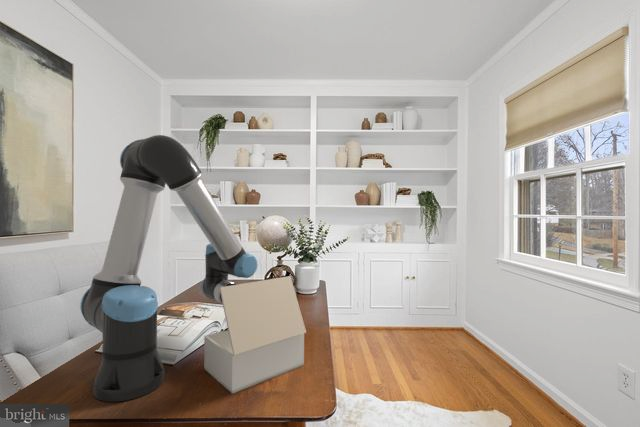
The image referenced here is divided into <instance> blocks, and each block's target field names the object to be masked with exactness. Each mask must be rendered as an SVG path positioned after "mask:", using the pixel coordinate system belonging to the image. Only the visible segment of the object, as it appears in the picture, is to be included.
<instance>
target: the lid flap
mask: <svg viewBox="0 0 640 427" xmlns="http://www.w3.org/2000/svg"><path fill="white" fill-rule="evenodd" d="M237 284H238V285H232V286H225V287H220V293H221V298H222V303H223V304H222V307H223V312H224V317H225V321H226V326H227V330H228V332H229V337H230V342H231V346H232V351H233V355H237V354H240V353H243V352H246V351H249V350H252V349H256V348H259V347H262V346H265V345H268V344H271V343H274V342H278V341H281V340H284V339H287V338H290V337H293V336H296V335H300V334H303V333H304V334H307V330H306V326H305V322H304V319H303V316H302V311H301V308H300V305H299V301H298V298H297V293H296V290H295V287H294V283H293V280H292V276H291V275H288V276H282V277H276V278H275V277H274V278H270V279H263V280H258V281H251V282H250V281H249V282H244V283H237Z"/></svg>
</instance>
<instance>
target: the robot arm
mask: <svg viewBox="0 0 640 427" xmlns="http://www.w3.org/2000/svg"><path fill="white" fill-rule="evenodd" d="M119 163H120V167H121V169H122V170H121V174H120V177H119V180H120V182H121V184H122V185H123V191H122V194H121V197H120V201H119V205H118V209H117V212H116V217H115V221H114V224H113V227H112V232H111V235H110V238H109V242H108V247H107V250H106V253H105V258H104V260H103V261H104V262H103V265H102V269H101V271H99V272H98V273H96V274H95V275H94V276H93V277H92V280H91V285H90V287H89V288H88V289H86V291H85V293H84V294H83V295H82V298H81V300H80V305H79V306H80V313H81V314H82V317H83V319H84V321H86V322H87V324H88V325H90V326H91V327H93V328H95V329H97V330H98V331H99V332H100V333H102V334H101V335H102V359H101V362H100V365H99V367H98V371H97V373H96V376H95V379H94V382H93V396H94V397H95V399H97V400H99V401H103V402H111V403H113V402H114V403H115V402H116V403H117V402H124V401H129V400H134V399H137V398H140V397H143V396H145V395H147V394H150V393H151V392H153V391H155V390H156V389H157V388H159V387H160V386H161V385H162V384H163V383H164V381H165V367H164V365H163V362H162V360H161V357H160V354H159V351H158V344H157V343H158V307H159V305H158V304H159V303H158V299H157V297H158V296H157V293H156V291H155V290H154V289H152V288H151V287H148V286H145V285H142V280H141V279H140V278H139V276H138V271H139V268H140V264H141V261H142V260H141V259H142V255H143V252H144V247H145V244H146V240H147V236H148V232H149V228H150V224H151V220H152V216H153V211H154V208H155V204H156V200H157V197H158V196H157V195H158V194H159V193H162V191H164V190H165V188H166V185H167V187H168V188H169V190H170V191H174V192H176V194H177V195H178V196H179V198H180V199H181V202H182V203H183V204H184V206H185V208H186V209H187V211H188V212H189V213H190V215H191V216H192V217H193V219H194V221H195V223H197V225H198V227H199V228H200V230H201V231H202V233H203V234H204V236H205V237H206V239H207V240H208V242H209V243H208V244H207V245H206V246H205V255H204V256H205V257H204V258H205V278H203V280H202V282H201V283H200V291H201V293H202V294H203V295H204V296H205V297H207V298H208V299H210V300H213V301H216V302H218V303H220V304H222V305H223V303H222V298H221V293H220V287H225V286H232V285H238V284H239V283H235V282H232V281H231V280H229V275H230V276H233V277H237V278H244V279H248V278H250V277H253V276H254V275H255V273H256V272H257V270H258V266H259V265H258V260H257V258H256V256H254V255H253V254H251V253H248V252H246V250H245V249H244V247H243V245H242V244H241V243H240V241H239V239H238V237H237V235H236V234H235V233H234V231H233V229H232V227H231V226H230V224H229V223H228V221H227V220H226V218H225V216H224V214H223V213H222V211H221V209H220V207H219V206H218V204H217V202H216V201H215V200H214V198H213V196H212V194H211V193H210V191H209V189H208V188H207V186H206V184H205V183H204V181H203V180H202V178H201V177H202V173H203V172H202V171H201V168H199V166H198V164H197V163H196V161H195V159H194V157H192V155H191V154H190V152H189V151H188V150H187V149H186V148H185V147H184V146H183V145H182V144H181V143H180V142H179V141H177V140H176V139H174V138H173V137H170V136H168V135H164V134H163V135H162V134H157V135H152V136H149V137H146V138H141V139H140V138H139V139H137V140H134V141H132V142H130V143H129V144H127V145H126V146H125V147H124V148H123V150H122V152H121V153H120V157H119Z"/></svg>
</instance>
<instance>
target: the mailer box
mask: <svg viewBox="0 0 640 427" xmlns="http://www.w3.org/2000/svg"><path fill="white" fill-rule="evenodd" d="M203 338H204V339H203V340H204V344H203V345H204V349H203V350H204V352H203V353H204V354H203V356H204V358H203V359H204V360H203V366H204V367H203V369H204V370H205V371H206V372H207V373H208V374H210V375H211V376H212V378H214V379H215V380H216V381H217V382H218V383H219V384H221V386H223V387H224V388H225V389H226V390H227V391H229V392H230V394H236V393H237V392H240V391H242V390H245V389H248V388H250V387H253V386H255V385H258V384H260V383H263V382H265V381H268V380H270V379H272V378H275V377H277V376H280V375H283V374H286V373H287V372H290V371H292V370H295V369H297V368H299V367H300V368H301V367H302V366H304V365H305V333H303V334H300V335H296V336H293V337H290V338H287V339H284V340H281V341H278V342H274V343H271V344H268V345H265V346H262V347H259V348H256V349H252V350H249V351H246V352H243V353H240V354H237V355H233V351H232V346H231V342H230V337H229V332H228V329H226V330H222V331H219V332H214V333H211V334H208V335H204V337H203Z"/></svg>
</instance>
